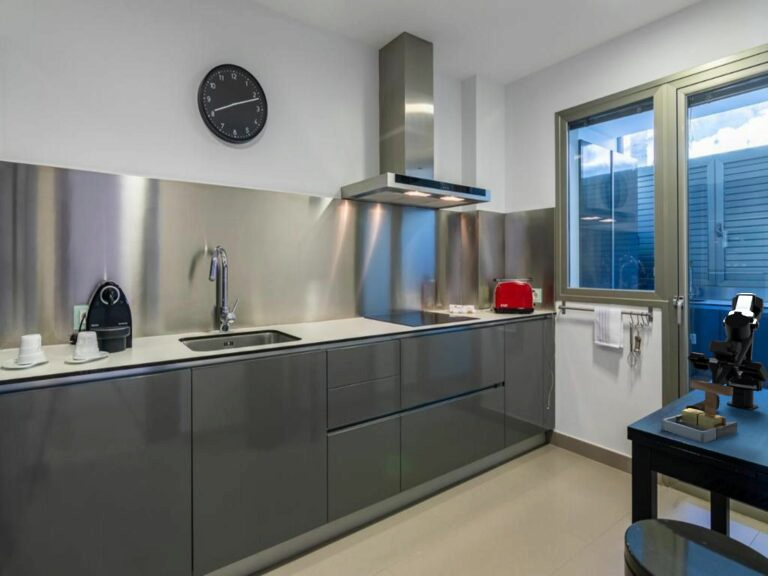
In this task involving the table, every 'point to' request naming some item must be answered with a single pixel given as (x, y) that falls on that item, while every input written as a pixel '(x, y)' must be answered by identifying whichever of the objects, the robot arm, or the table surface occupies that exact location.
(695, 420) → the chip
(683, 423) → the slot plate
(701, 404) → the hand tool
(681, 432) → the tray
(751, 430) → the table surface
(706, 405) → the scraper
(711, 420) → the chip
